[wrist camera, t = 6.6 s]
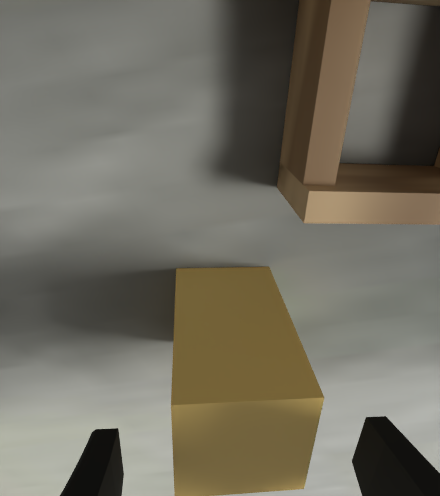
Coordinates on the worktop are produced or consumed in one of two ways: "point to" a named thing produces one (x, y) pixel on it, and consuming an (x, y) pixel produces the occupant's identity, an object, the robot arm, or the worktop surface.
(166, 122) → the worktop surface
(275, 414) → the yellow block
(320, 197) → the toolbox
